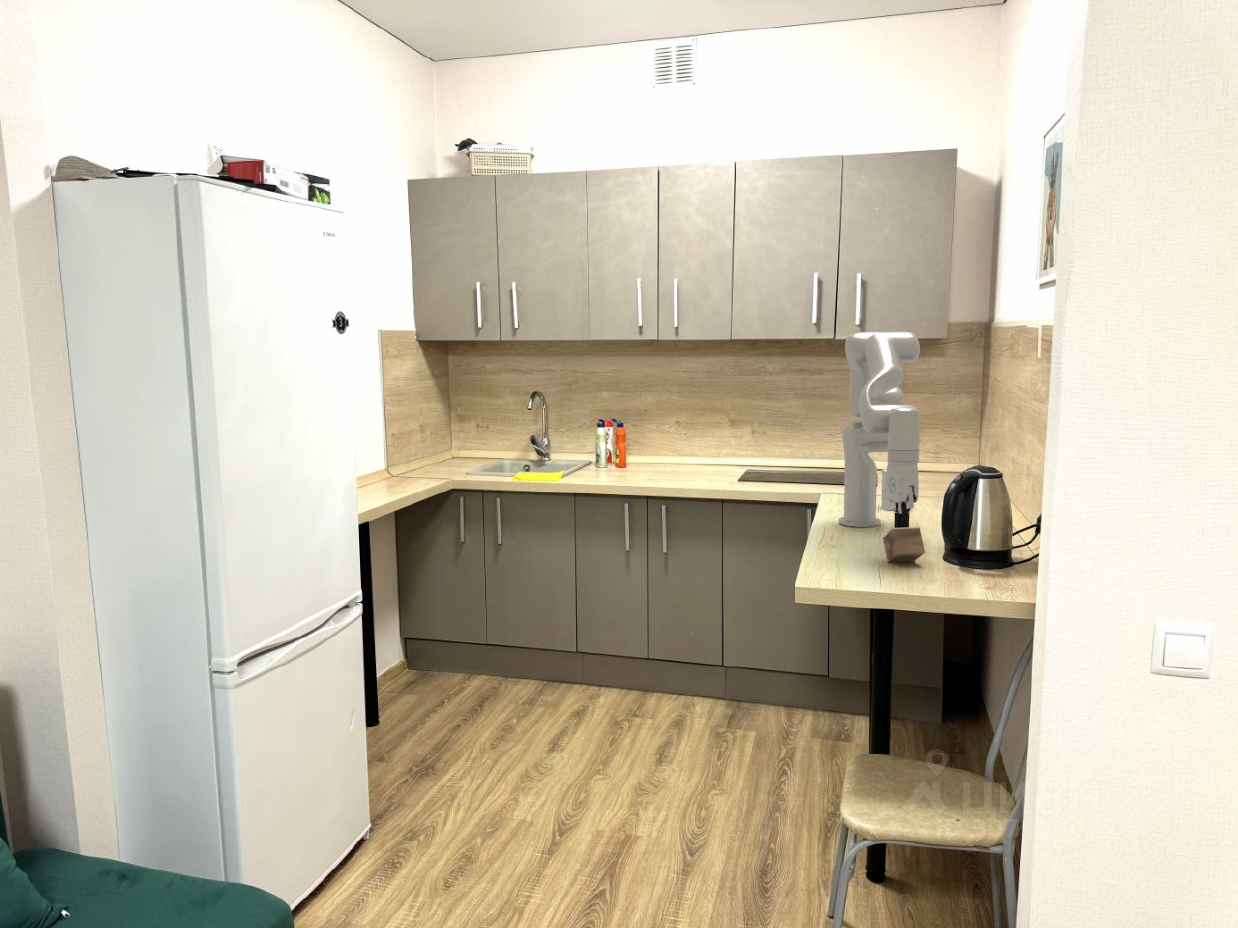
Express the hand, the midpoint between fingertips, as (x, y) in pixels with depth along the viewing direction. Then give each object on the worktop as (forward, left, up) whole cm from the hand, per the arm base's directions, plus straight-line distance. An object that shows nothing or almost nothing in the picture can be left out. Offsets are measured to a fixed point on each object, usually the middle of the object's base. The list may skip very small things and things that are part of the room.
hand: (901, 528), depth 223 cm
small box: (-68, +29, -9) cm, 75 cm away
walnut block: (-1, 0, -1) cm, 1 cm away
